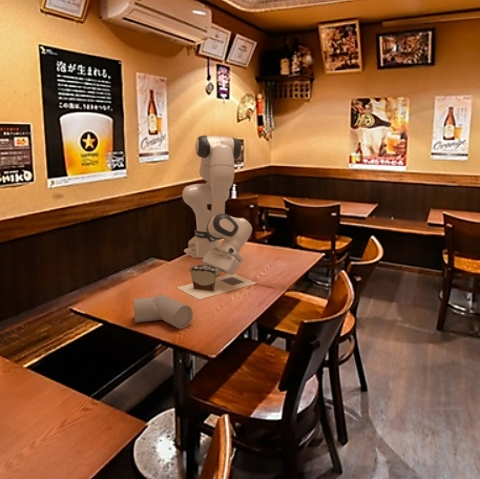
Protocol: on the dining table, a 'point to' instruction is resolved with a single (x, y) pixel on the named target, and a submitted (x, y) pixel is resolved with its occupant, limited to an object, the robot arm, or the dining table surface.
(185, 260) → the dining table surface
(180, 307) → the l-shaped cylinder
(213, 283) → the food container
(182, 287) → the board
